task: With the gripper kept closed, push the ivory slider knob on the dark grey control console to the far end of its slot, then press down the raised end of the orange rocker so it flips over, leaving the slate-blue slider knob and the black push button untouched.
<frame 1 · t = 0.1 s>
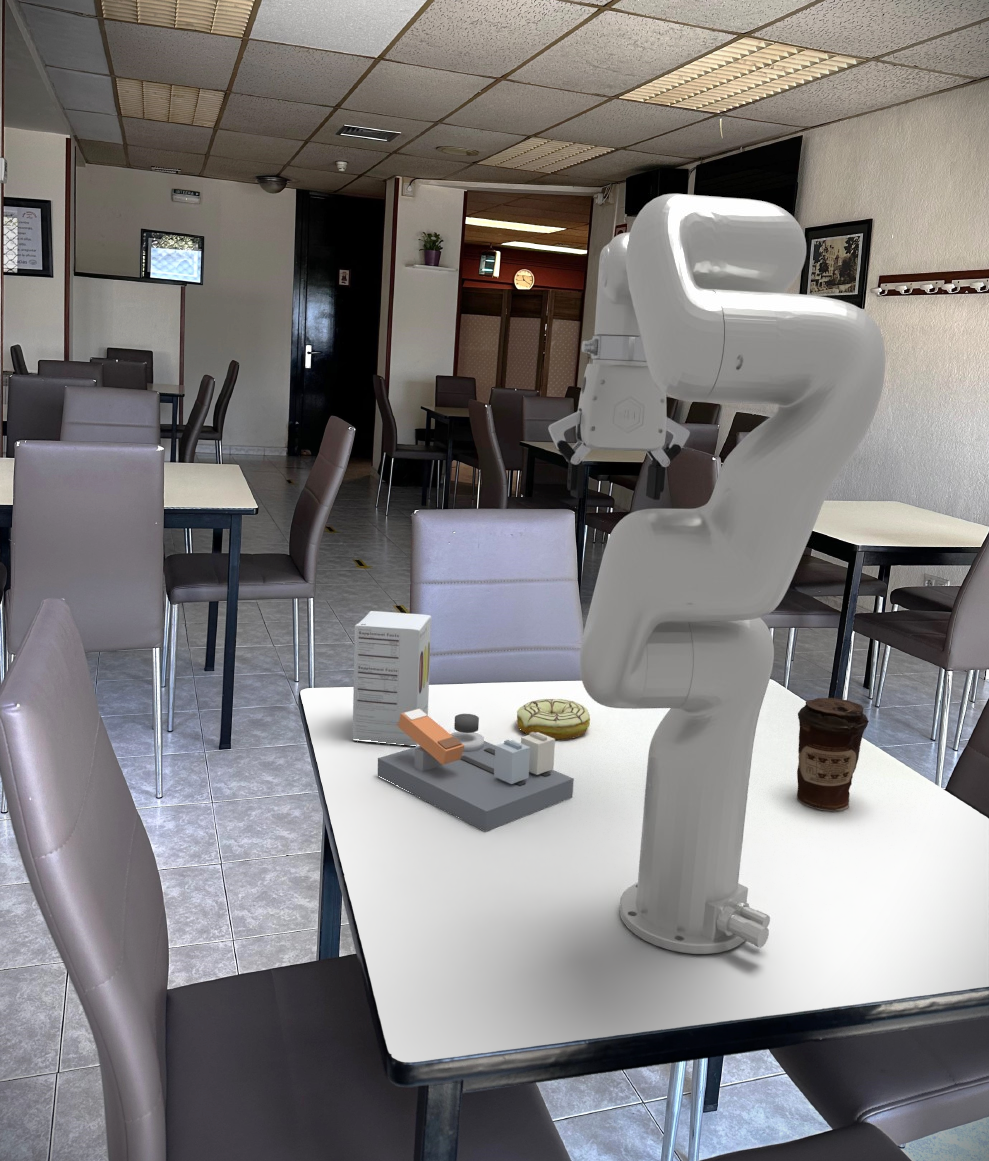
hand: (614, 497, 123), 37 cm above the table, tool pointing down, fingers open, 9 cm apart
console: (473, 786, 128), on the table
decorated donut: (552, 731, 150), on the table
slate knob: (512, 760, 124), point 5 cm above the table, slide at 0.0 cm
push button: (466, 723, 135), point 6 cm above the table, slide at 0.0 cm
ivory knob: (537, 751, 127), point 5 cm above the table, slide at 0.0 cm
rocker switch: (430, 735, 127), point 7 cm above the table, hinge at -15.0°
supplement box: (391, 734, 145), on the table
coffee cup: (822, 804, 128), on the table
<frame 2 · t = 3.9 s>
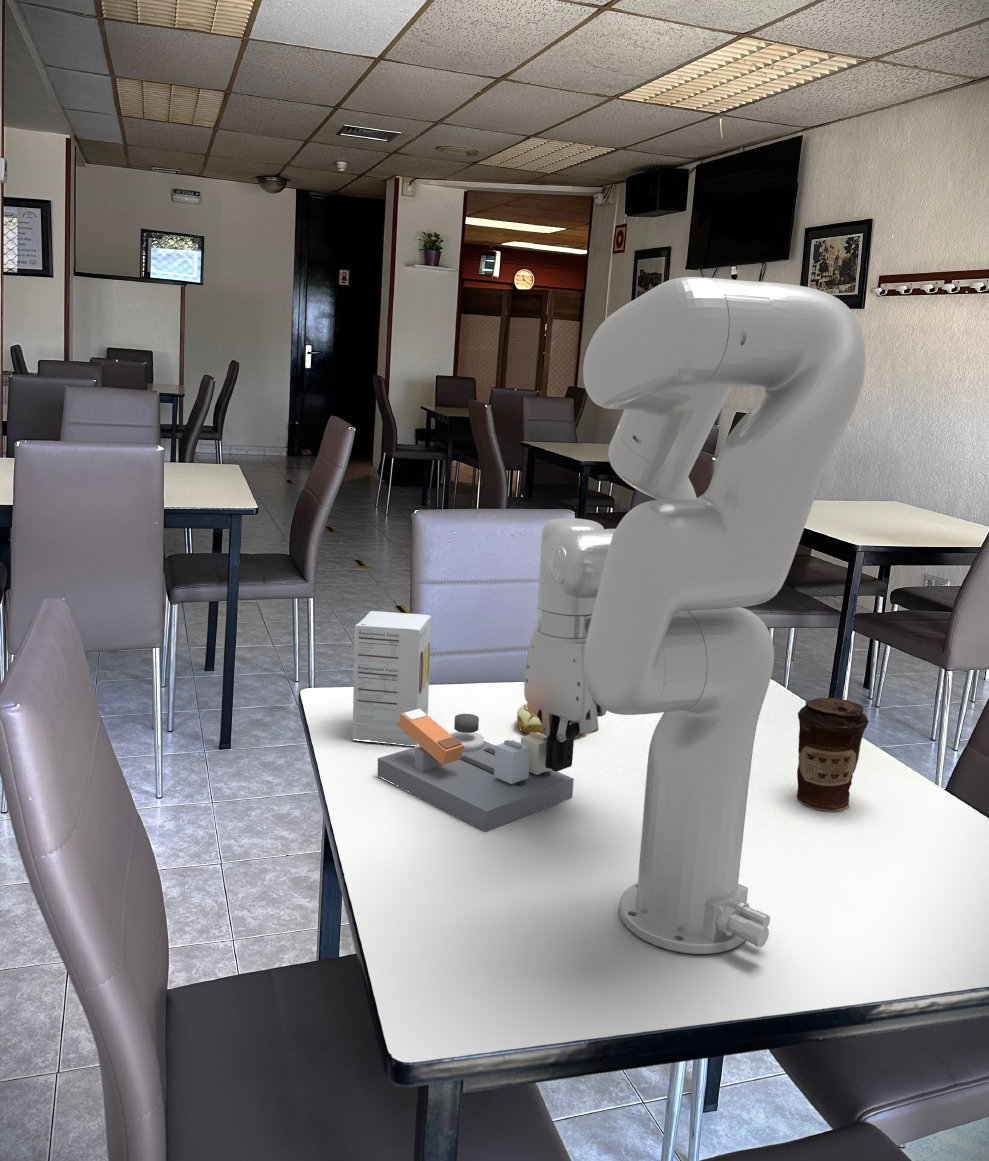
hand: (558, 766, 125), 4 cm above the table, tool pointing down, fingers closed
ivory knob: (537, 751, 127), point 5 cm above the table, slide at 0.0 cm, touching gripper
everything else where it was.
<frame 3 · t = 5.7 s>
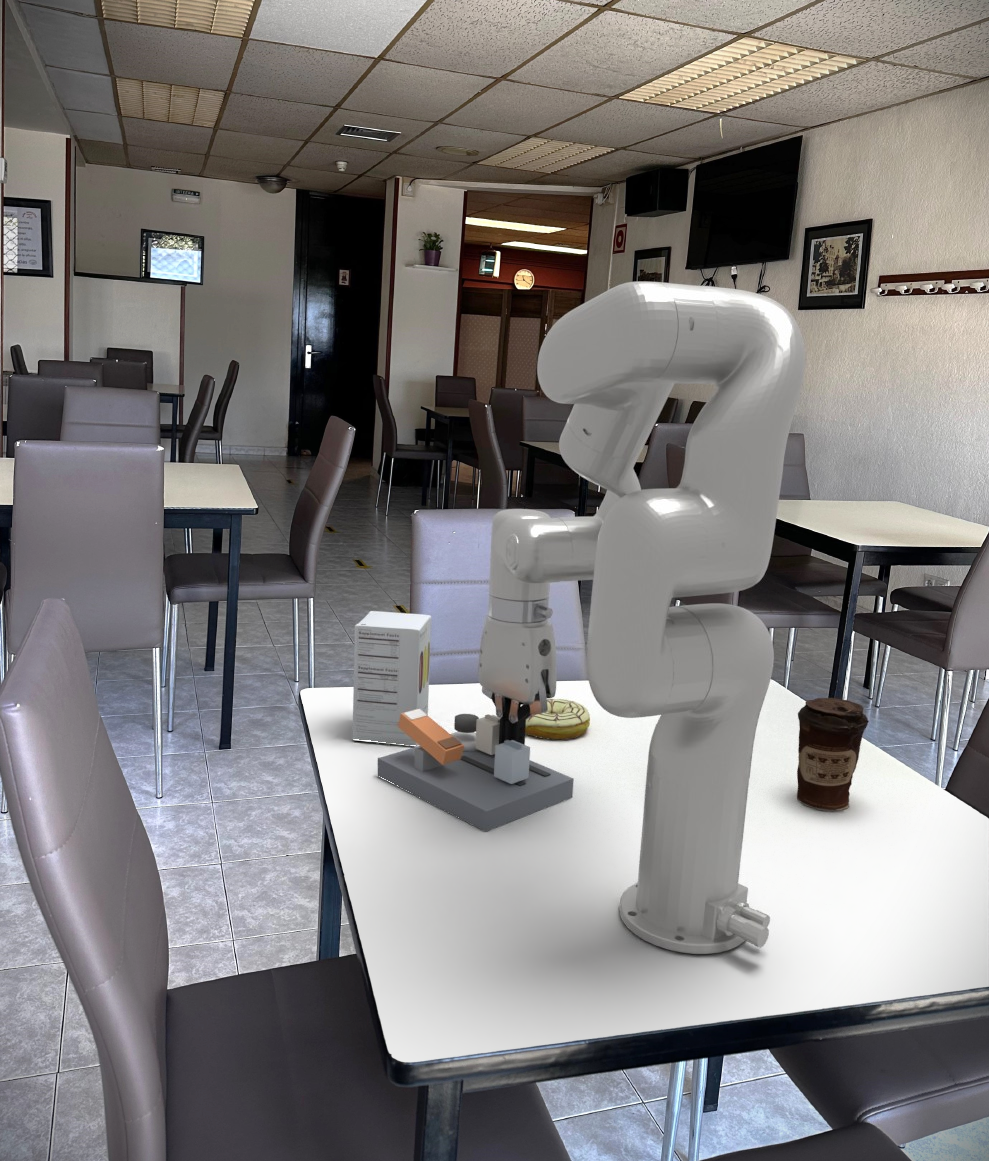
hand: (511, 747, 130), 4 cm above the table, tool pointing down, fingers closed
ivory knob: (492, 733, 133), point 5 cm above the table, slide at 8.1 cm, touching console, gripper
everything else where it was.
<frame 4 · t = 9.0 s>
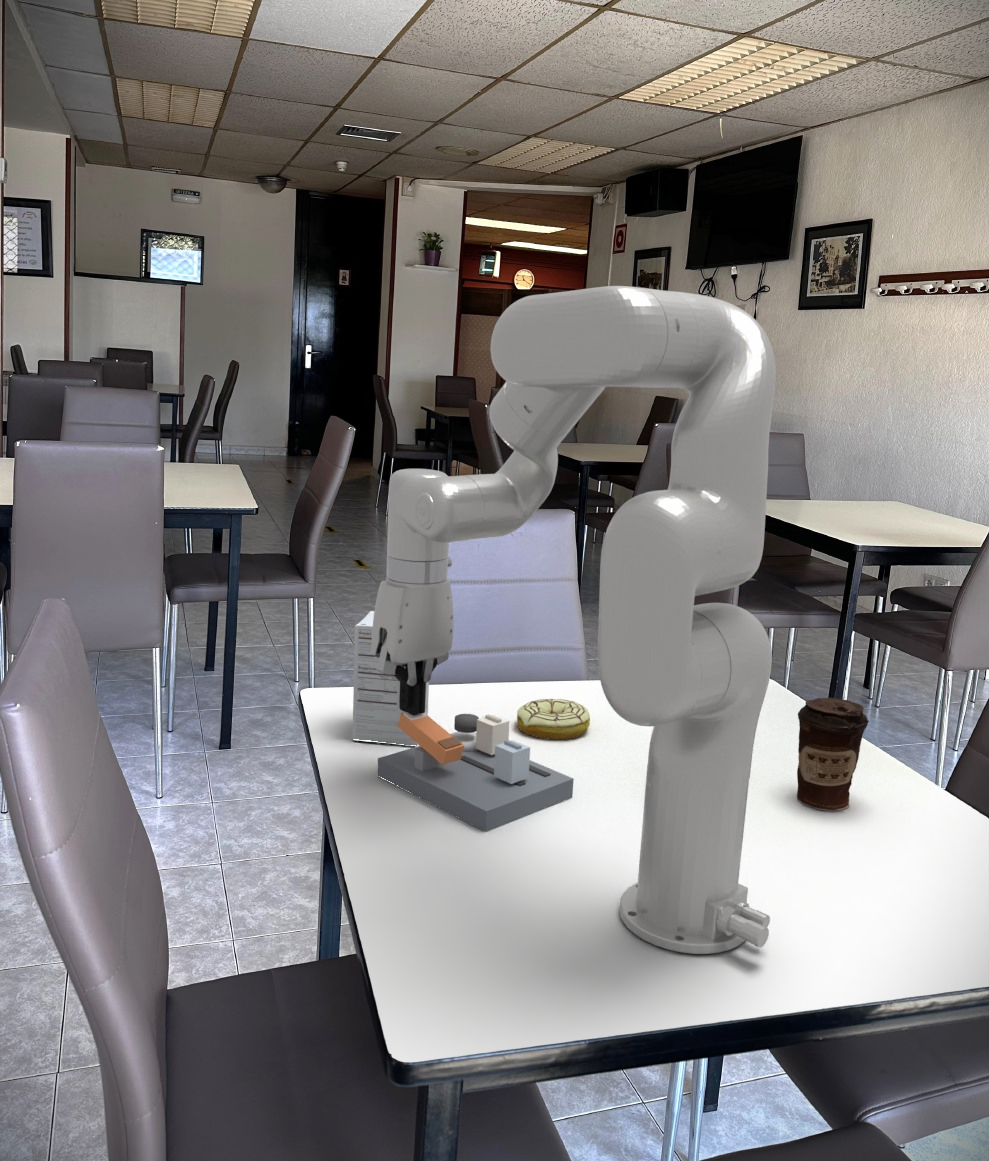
hand: (412, 711, 129), 9 cm above the table, tool pointing down, fingers closed
ivory knob: (492, 733, 133), point 5 cm above the table, slide at 8.1 cm
rocker switch: (430, 735, 127), point 7 cm above the table, hinge at -15.0°, touching gripper
everything else where it was.
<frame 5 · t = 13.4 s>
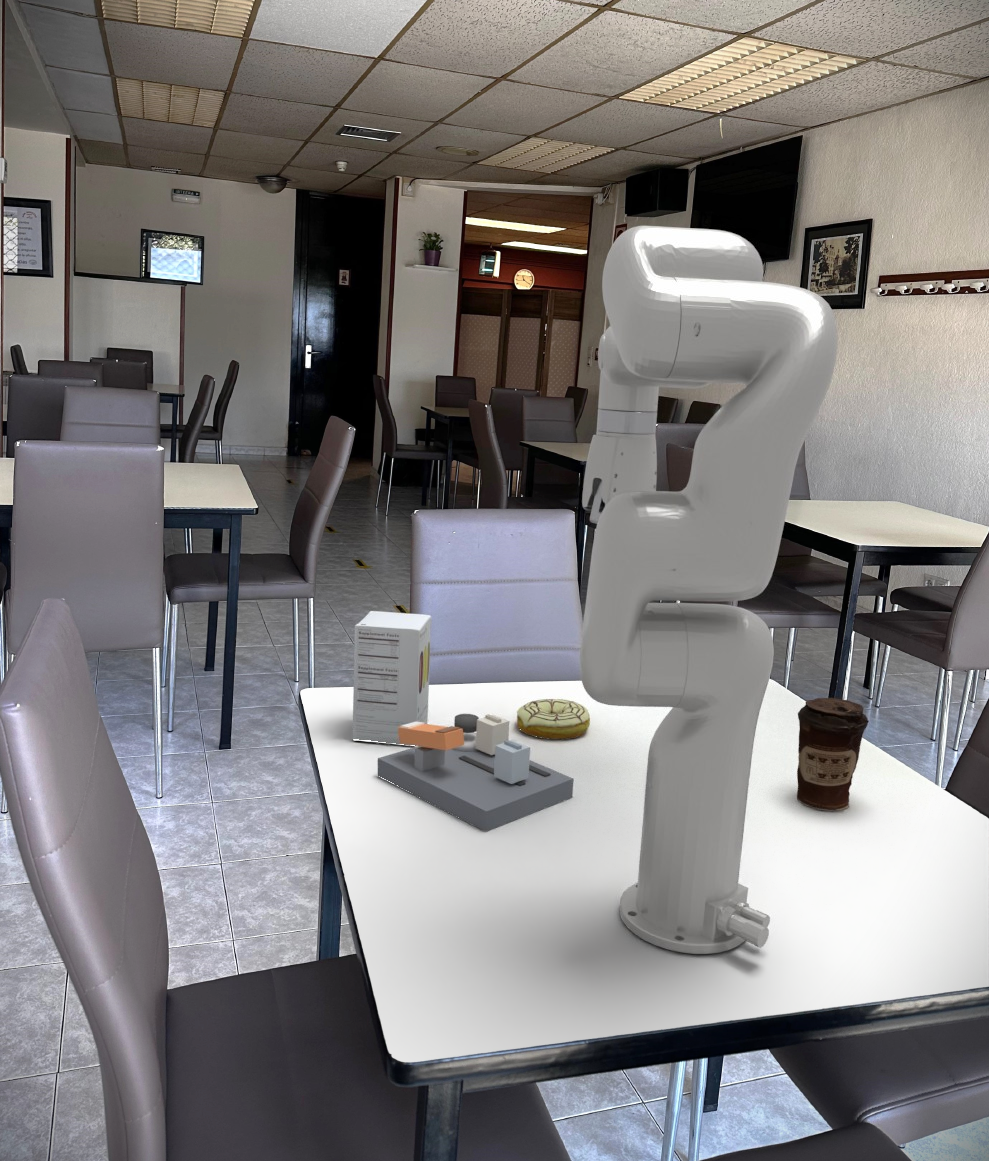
hand: (616, 564, 134), 27 cm above the table, tool pointing down, fingers closed
rocker switch: (430, 735, 127), point 7 cm above the table, hinge at 11.4°
everything else where it was.
at the end: ivory knob slide at 8.1 cm; rocker switch at +11° (first picture: -15°); slate knob slide at 0.0 cm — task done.
